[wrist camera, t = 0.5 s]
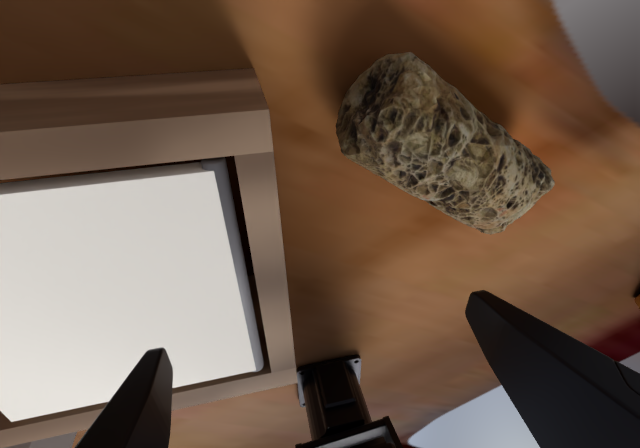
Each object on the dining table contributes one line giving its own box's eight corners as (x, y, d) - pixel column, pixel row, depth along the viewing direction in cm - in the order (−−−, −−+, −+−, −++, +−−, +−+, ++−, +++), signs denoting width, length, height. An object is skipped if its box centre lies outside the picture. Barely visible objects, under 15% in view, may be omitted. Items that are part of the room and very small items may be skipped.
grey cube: (82, 414, 31) (60, 478, 27) (19, 428, 30) (-13, 496, 26) (57, 382, 28) (28, 448, 24) (-13, 396, 27) (-55, 466, 23)
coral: (517, 150, 26) (588, 187, 21) (461, 214, 28) (513, 261, 23) (371, 31, 19) (423, 43, 14) (313, 127, 21) (340, 167, 16)
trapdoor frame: (280, 285, 27) (297, 382, 21) (52, 324, 25) (-17, 452, 18) (253, 68, 19) (269, 109, 12) (-106, 90, 16) (-365, 162, 9)
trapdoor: (263, 355, 20) (264, 371, 19) (23, 404, 18) (13, 424, 17) (225, 154, 13) (225, 164, 12) (-170, 195, 11) (-201, 210, 10)
